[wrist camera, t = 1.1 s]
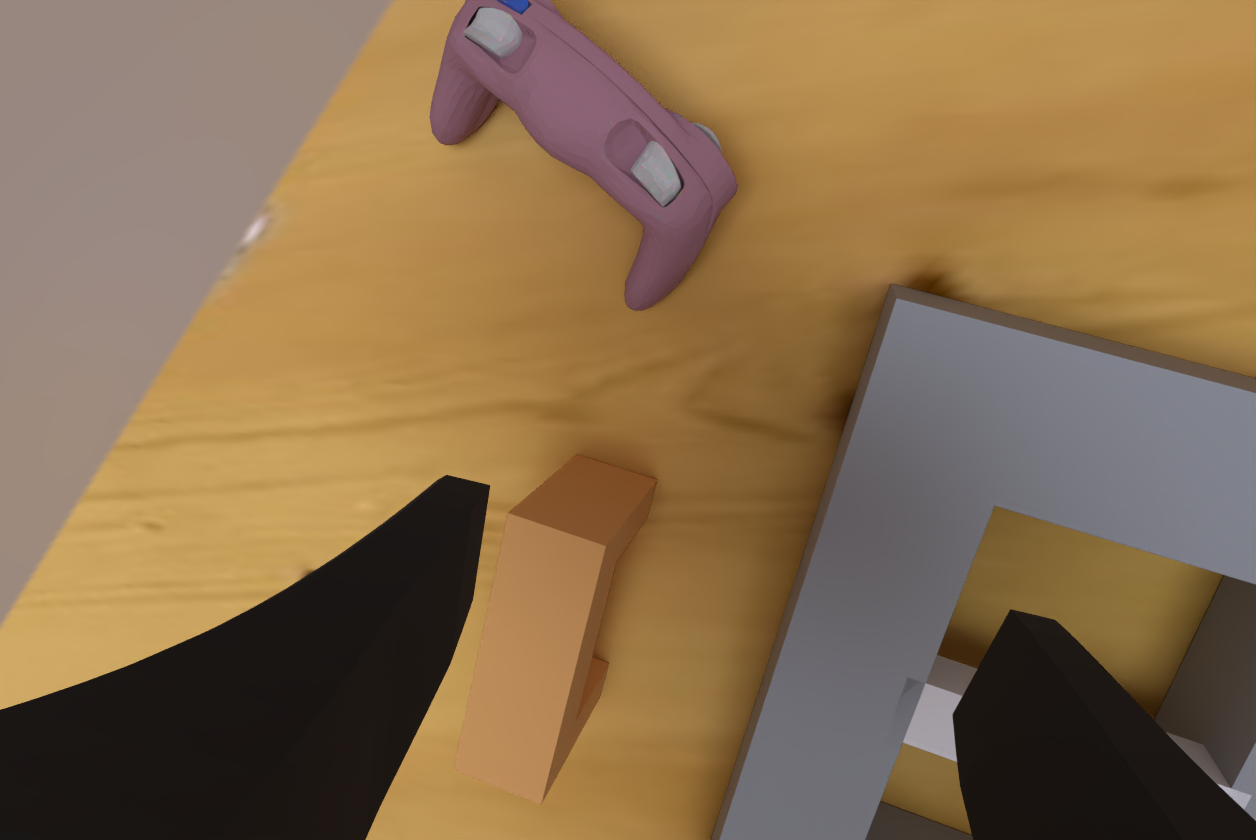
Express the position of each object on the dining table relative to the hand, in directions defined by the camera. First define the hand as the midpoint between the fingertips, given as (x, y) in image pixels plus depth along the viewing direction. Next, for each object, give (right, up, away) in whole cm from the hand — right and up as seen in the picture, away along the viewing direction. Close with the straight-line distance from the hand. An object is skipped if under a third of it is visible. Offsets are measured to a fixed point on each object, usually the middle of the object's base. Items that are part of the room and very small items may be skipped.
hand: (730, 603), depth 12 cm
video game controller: (-2, +11, +17) cm, 20 cm away
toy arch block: (-3, -3, +20) cm, 20 cm away
